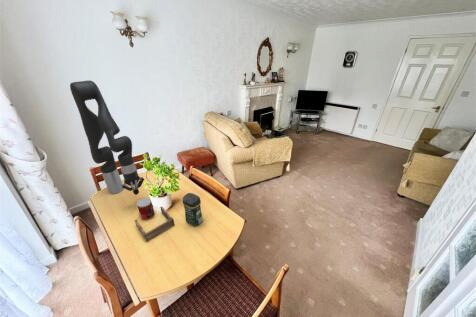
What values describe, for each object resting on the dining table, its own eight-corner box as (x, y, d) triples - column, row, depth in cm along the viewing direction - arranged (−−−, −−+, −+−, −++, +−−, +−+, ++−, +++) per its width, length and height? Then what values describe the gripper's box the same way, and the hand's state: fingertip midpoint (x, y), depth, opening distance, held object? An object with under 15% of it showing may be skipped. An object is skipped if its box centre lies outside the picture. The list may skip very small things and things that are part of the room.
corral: (136, 226, 111) (134, 220, 109) (163, 212, 121) (162, 206, 119) (146, 241, 103) (144, 235, 100) (174, 225, 112) (173, 219, 110)
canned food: (150, 221, 115) (146, 207, 109) (138, 219, 116) (133, 205, 111) (157, 212, 121) (153, 198, 116) (145, 210, 123) (141, 196, 117)
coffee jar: (183, 221, 115) (179, 197, 106) (192, 213, 121) (189, 189, 112) (195, 229, 110) (192, 203, 101) (205, 220, 116) (202, 195, 107)
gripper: (138, 163, 119) (145, 186, 128) (114, 171, 111) (123, 195, 120) (143, 168, 115) (149, 191, 123) (118, 177, 107) (127, 201, 115)
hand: (136, 193), depth 121 cm, fingers closed
